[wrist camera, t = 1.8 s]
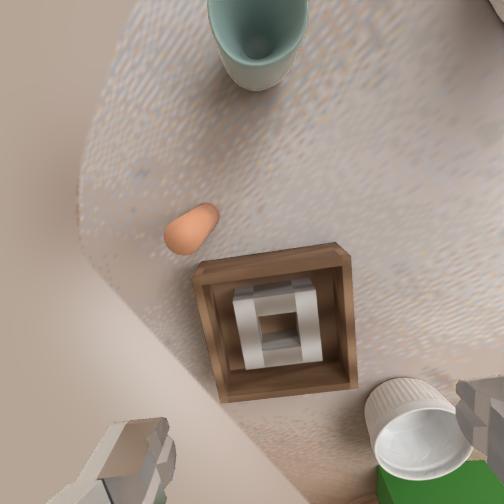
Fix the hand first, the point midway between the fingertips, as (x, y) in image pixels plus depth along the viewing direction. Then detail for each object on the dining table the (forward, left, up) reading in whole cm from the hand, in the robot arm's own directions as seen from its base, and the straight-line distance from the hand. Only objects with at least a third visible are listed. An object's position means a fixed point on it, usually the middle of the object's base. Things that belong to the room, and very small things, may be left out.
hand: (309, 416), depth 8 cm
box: (+13, -1, -29) cm, 31 cm away
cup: (-18, +1, -29) cm, 34 cm away
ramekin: (+32, +16, -29) cm, 46 cm away
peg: (-2, -8, -29) cm, 30 cm away
